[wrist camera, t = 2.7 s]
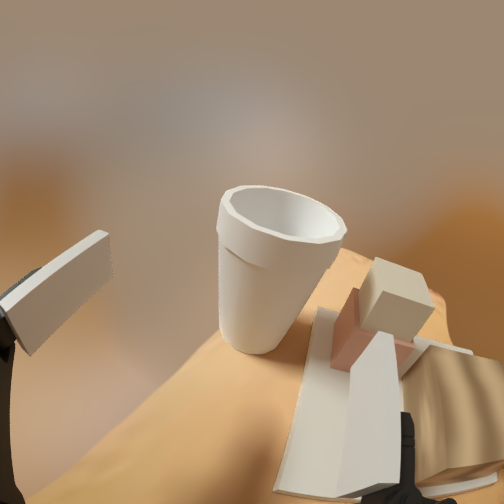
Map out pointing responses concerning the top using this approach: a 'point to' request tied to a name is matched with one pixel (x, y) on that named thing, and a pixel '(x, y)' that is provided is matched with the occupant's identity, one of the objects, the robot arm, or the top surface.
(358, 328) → the terracotta tower
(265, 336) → the foam cup
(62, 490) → the top surface
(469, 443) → the oak plinth
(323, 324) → the white board
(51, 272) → the robot arm
